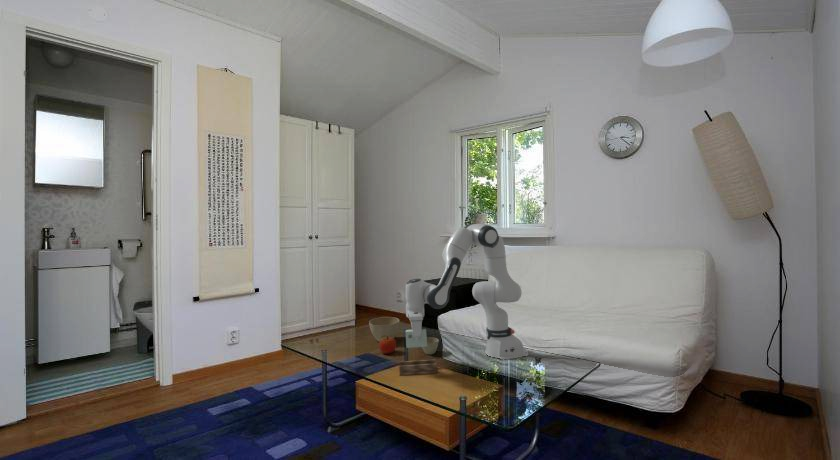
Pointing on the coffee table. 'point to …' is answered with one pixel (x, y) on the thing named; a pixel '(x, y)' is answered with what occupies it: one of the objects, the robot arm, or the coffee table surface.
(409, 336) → the pale mint flat box
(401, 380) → the coffee table surface
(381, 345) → the fruit
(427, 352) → the bowl
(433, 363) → the brown flat wooden block
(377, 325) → the large beige bowl
